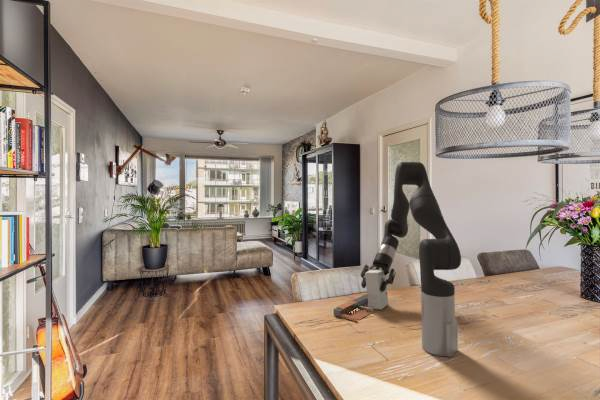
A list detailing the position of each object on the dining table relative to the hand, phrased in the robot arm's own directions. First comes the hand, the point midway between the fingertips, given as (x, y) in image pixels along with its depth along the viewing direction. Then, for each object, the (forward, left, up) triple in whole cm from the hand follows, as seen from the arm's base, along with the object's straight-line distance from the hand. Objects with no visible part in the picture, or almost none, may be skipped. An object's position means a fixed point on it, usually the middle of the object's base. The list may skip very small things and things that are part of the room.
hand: (371, 289), depth 130 cm
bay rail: (+2, +4, -8) cm, 9 cm away
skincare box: (-1, -3, -8) cm, 8 cm away
